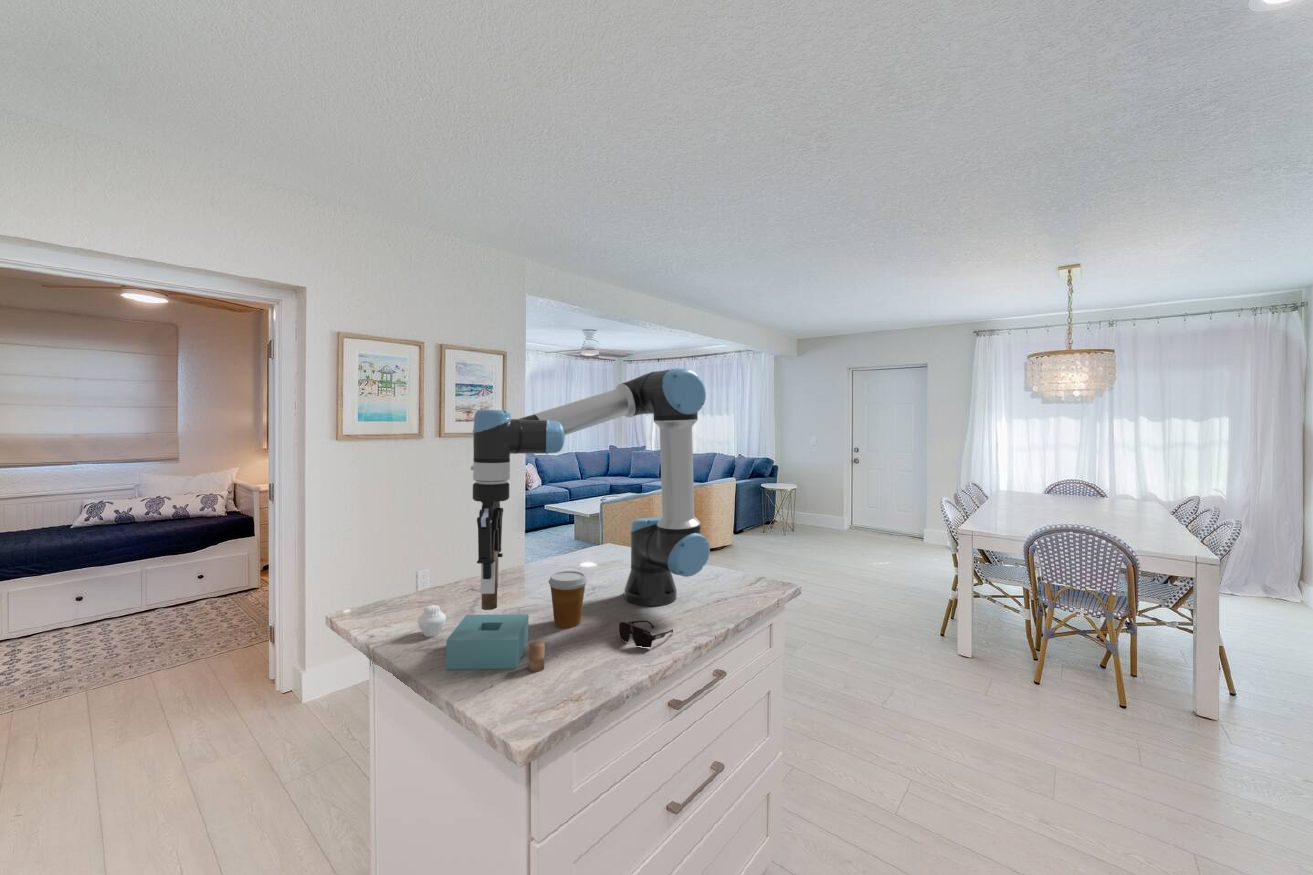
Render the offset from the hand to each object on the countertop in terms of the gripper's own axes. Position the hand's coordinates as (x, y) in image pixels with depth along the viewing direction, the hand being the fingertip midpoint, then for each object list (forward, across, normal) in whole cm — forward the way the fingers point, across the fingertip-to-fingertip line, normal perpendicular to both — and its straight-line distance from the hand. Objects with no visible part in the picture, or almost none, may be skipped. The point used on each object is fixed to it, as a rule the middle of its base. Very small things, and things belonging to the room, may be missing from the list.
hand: (489, 590), depth 113 cm
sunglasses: (+14, -8, +35) cm, 38 cm away
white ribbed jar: (+14, -11, -16) cm, 24 cm away
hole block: (+14, 0, 0) cm, 14 cm away
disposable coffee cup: (+14, -17, +15) cm, 27 cm away
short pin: (+14, +7, +11) cm, 19 cm away
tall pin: (+4, 0, 0) cm, 4 cm away
